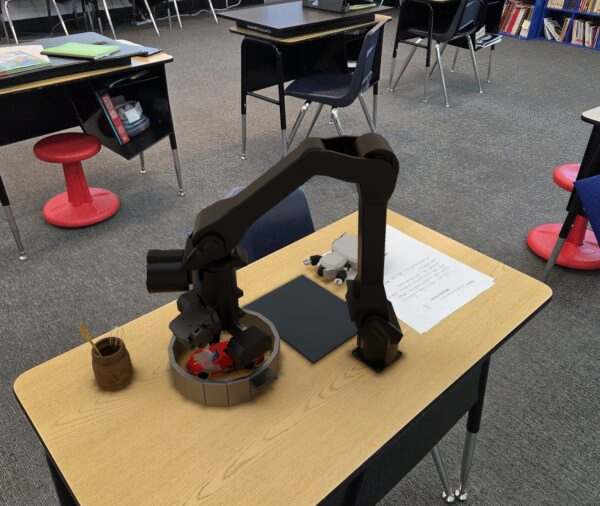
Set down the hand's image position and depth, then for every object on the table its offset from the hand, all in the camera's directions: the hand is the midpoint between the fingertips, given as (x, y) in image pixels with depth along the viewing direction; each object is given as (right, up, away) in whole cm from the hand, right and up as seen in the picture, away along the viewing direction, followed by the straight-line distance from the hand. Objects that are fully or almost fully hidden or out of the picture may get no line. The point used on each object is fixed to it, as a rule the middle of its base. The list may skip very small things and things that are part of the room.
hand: (226, 360), depth 92 cm
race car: (0, -1, +1) cm, 1 cm away
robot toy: (+22, +14, +25) cm, 36 cm away
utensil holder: (-18, -3, -2) cm, 18 cm away
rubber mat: (+14, +6, +11) cm, 19 cm away
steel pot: (0, -1, +1) cm, 1 cm away
